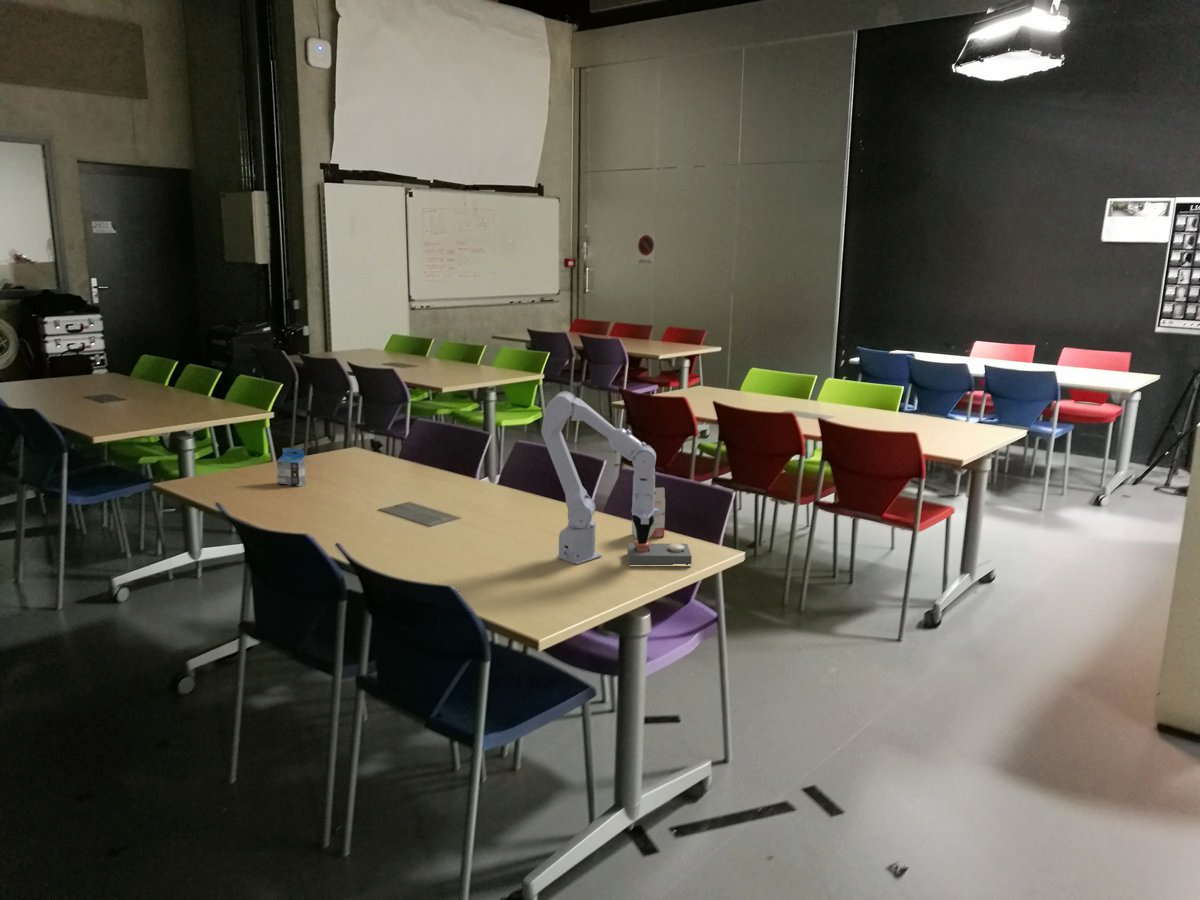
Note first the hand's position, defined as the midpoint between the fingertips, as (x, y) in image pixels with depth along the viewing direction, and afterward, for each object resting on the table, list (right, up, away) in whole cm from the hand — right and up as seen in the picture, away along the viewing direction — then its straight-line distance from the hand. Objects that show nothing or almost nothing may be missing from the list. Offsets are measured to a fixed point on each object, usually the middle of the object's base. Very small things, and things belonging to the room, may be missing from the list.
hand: (642, 542), depth 231 cm
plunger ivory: (+9, -5, +1) cm, 10 cm away
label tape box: (-117, +12, +70) cm, 137 cm away
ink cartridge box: (+3, 0, +22) cm, 22 cm away
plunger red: (0, -4, +1) cm, 4 cm away
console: (+4, -5, +1) cm, 7 cm away
